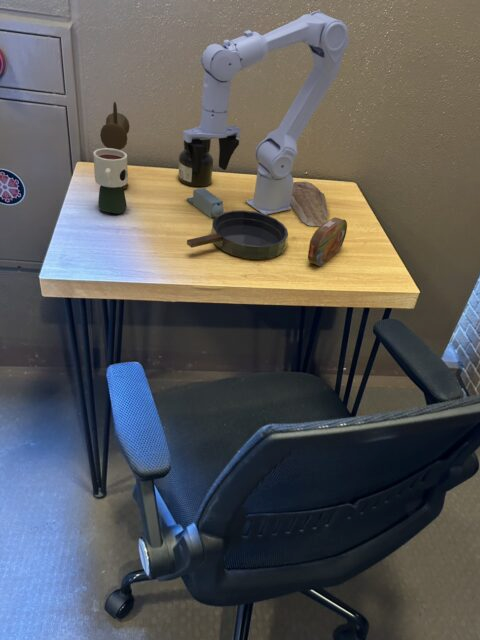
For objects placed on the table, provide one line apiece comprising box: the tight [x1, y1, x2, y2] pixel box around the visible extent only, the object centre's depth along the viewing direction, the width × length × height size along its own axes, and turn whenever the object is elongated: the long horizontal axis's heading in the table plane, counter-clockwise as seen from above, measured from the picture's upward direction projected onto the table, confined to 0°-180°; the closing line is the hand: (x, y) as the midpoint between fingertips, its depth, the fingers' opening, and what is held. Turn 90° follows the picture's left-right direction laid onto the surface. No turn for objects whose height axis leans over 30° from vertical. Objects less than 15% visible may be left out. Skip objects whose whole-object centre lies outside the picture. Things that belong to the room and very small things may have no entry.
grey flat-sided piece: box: [186, 187, 225, 219], centre depth 129 cm, size 12×4×4 cm, turn 39°
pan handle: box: [186, 233, 222, 249], centre depth 113 cm, size 8×2×1 cm, turn 129°
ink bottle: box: [178, 139, 214, 187], centre depth 139 cm, size 10×9×12 cm
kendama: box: [99, 101, 130, 190], centre depth 126 cm, size 6×10×20 cm, turn 6°
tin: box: [307, 216, 348, 267], centre depth 119 cm, size 15×3×8 cm, turn 148°
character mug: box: [92, 147, 129, 214], centre depth 118 cm, size 11×7×13 cm, turn 5°
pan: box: [211, 209, 289, 260], centre depth 120 cm, size 17×17×4 cm
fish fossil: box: [290, 181, 328, 227], centre depth 142 cm, size 26×10×1 cm, turn 12°
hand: (209, 170), depth 124 cm, fingers open, 7 cm apart
